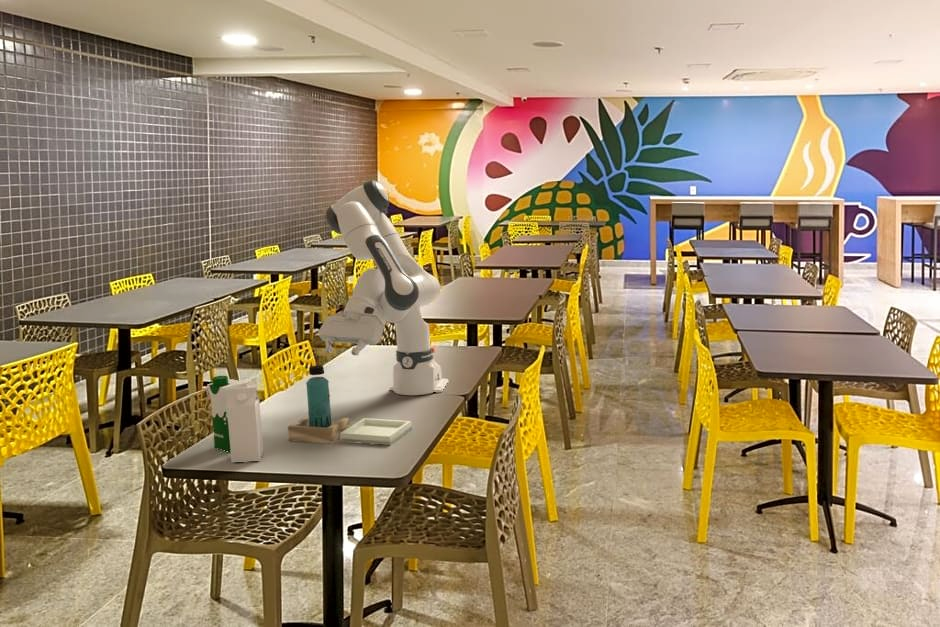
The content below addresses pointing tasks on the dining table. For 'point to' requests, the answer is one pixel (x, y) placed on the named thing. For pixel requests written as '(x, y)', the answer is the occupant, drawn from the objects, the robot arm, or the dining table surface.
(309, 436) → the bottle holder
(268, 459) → the dining table surface
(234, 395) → the milk carton
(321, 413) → the beverage bottle
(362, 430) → the tray
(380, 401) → the dining table surface
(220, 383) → the soya milk
